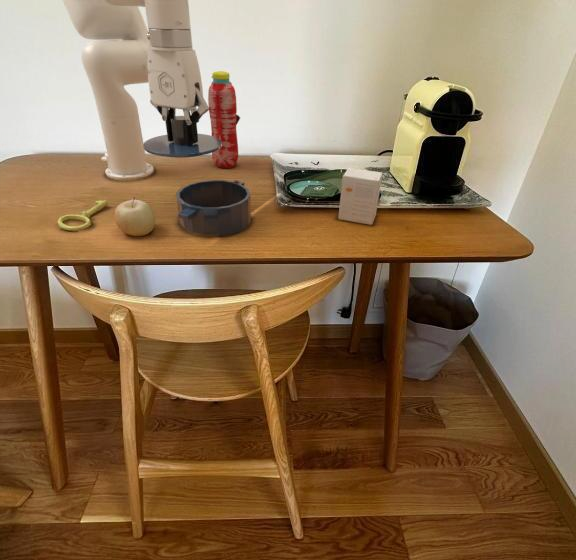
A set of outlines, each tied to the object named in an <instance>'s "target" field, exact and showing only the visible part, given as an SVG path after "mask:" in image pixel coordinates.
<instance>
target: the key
mask: <svg viewBox="0 0 576 560" xmlns="http://www.w3.org/2000/svg"><path fill="white" fill-rule="evenodd" d="M94 203H95V205H94V206H93V207H91V208H90V209H88V210H87V211H82V212H81V214H76V213H75V214H74V213H72V214H65V215H62V216H60V217H59V218H58V219H57V225H58V226H59V228H60V229H62V230H64V231H70V232H78V231H79V230H84V229H88V228H89V227H91V226H92V221H91V219H90V218H91V216H93V215H94V214H96V213H98V212H99V211H101V209H104V208H105V207H106V206H108V205H109V201H108V200H107V199H103V200H100V199H97V200H96V201H95V202H94ZM68 220H76V221H77V220H78V221H82V222H84V224H81V225H67V224H65V223H63V222H65V221H68Z"/></svg>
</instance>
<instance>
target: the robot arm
mask: <svg viewBox="0 0 576 560" xmlns="http://www.w3.org/2000/svg"><path fill="white" fill-rule="evenodd" d="M62 1H63V4H64V7H65V9H66V12H67V13H68V15H69V18H70V21H71V22H72V25H73V27H74V28H75V30H76V32H77V34H79V36H81V37H82V38H84V39H86V40H93V41H91V42H88V43H86V44H85V45H84V46H83V47H82V50H81V61H82V62H81V63H82V65H83V68H84V71H85V73H86V77H87V79H88V81H89V84H90V87H91V90H92V93H93V97H94V100H95V104H96V110H97V113H98V116H99V117H98V118H99V121H100V126H101V131H102V135H103V140H104V144H105V149H106V152H105V153H104V156H101V161H102V162H103V163H107V168H106V169H105V171H104V172H105V176H107V177H108V178H110V179H114V180H124V181H125V180H126V181H127V180H137V179H142V178H145V177H148V176H150V175H152V174H153V173H154V171H155V169H154V166H153V165H152V164H150V163H148V162H147V156H146V151H145V150H144V148H143V144H144V139H143V133H142V132H143V131H142V126H141V119H140V115H139V114H140V113H139V109H138V105H137V101H136V100H135V99H134V98H133V96H132V95H131V94H130V93H129V92H128V91H127V90H126V88H125V86H129V85H139V84H148V89H149V95H150V100H149V102H150V104H151V105H152V107H154V109H156V110H157V112H158V113H159V114H160V116H161V120H162V121H163V122H165V128H166V129H165V130H166V135H167V137H168V141H170V142H172V141H173V136H172V128H171V121H170V118H171V117H174V116H176V111H177V110H182V112H183V116H185V120H186V123H187V124H186V125H184V130H185V139H186V144H187V145H192V144H194V143H197V142H198V134H199V133H198V123H199V122H200V119H201V118H202V117H203V116H204V115H205V114H206V113H208V112H209V104H208V103H207V101H206V99H205V98H204V90H203V81H202V75H201V69H200V66H199V65H200V64H199V60H198V55H197V52H196V50H195V49H194V48H193V39H192V28H191V18H190V6H189V0H62ZM139 7H141V8H142V7H143V8H145V14H146V22H145V20H144V17H143V15H142V12H141V10H140V9H139ZM146 23H147V26H146ZM176 109H177V110H176Z"/></svg>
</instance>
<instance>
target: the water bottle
mask: <svg viewBox="0 0 576 560" xmlns="http://www.w3.org/2000/svg"><path fill="white" fill-rule="evenodd" d="M211 78H212V81H211V82H210V83H211V84H210V85H209V88H208V94H207V95H208V96H207V102H208V103H207V105H208V107H209V110H208V112H209V113H208V114H209V120H210V130H211V136H214V137H217V138H219V139H220V140H221V141H222V147H221V148H220V149H219V150H217V151H215V152H212V153H211V156H212V157H211V158H212V161H213V162H214V164H215V166H216V167H217V168H220V169H232V168H234V167H236V166H237V163H238V159H239V143H238V133H237V124H239V121H240V120H241V117H240V115H238V114H237V111H238V109H237V95H236V89H235V87H234V85H233V84H232V82H231V81H230V72H227V71H222V70H221V71H220V70H218V71H214V72H212V76H211Z"/></svg>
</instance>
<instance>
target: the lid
mask: <svg viewBox="0 0 576 560" xmlns="http://www.w3.org/2000/svg"><path fill="white" fill-rule="evenodd" d="M170 121H171V128H172V136H173V141H172V142H170V141H168V137H167V134H162V135H158V136H154V137H151V138H149V139H147V140H146V141H143V148H144V150H145V153H148V154H151V155H154V156H158V157H165V158H175V159H176V158H177V159H183V158H195V157H200V156H205V155H209V154H212V152H215V151H217V150H219V149H220V148H221V147H222V141H221V140H220V139H219V138H217V137H214V136H212V135H211V134H204V133H198V142H197V143H194V144H192V145H187V144H186V139H185V130H184V125H186V124H187V123H186V120H185V116H184V115H175V116H174V117H171V118H170Z"/></svg>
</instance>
